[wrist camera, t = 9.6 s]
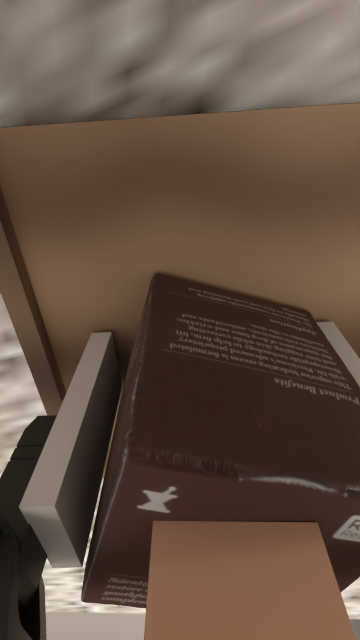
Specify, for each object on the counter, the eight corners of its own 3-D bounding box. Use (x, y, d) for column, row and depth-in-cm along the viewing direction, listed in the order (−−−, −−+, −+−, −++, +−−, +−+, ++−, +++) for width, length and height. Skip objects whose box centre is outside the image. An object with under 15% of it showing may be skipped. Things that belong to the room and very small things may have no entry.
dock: (-5, 127, 11) (-60, 132, 9) (417, 98, 11) (492, 93, 8) (90, 439, 20) (75, 489, 17) (330, 431, 19) (353, 481, 17)
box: (119, 391, 14) (70, 604, 8) (153, 265, 11) (116, 451, 5) (251, 420, 15) (299, 632, 9) (316, 309, 12) (455, 515, 6)
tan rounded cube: (153, 521, 6) (140, 676, 4) (317, 522, 6) (368, 680, 4) (158, 590, 8) (151, 726, 6) (289, 592, 8) (318, 728, 6)
